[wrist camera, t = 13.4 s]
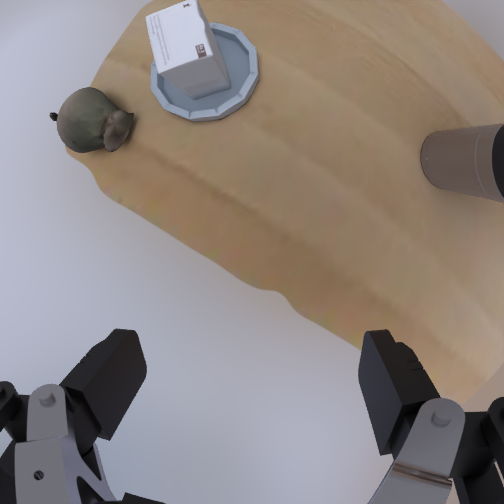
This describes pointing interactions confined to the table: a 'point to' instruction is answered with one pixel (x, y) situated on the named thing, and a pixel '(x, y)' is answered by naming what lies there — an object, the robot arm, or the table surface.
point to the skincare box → (187, 50)
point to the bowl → (222, 103)
